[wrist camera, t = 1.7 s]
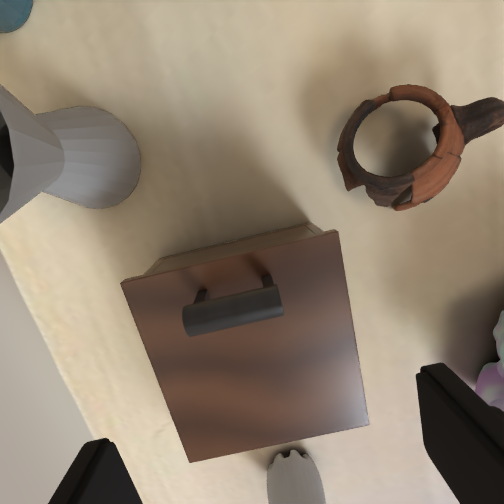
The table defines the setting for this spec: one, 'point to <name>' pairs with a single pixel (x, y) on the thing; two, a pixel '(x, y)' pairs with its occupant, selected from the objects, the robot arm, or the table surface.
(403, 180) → the pottery mug
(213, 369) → the lid
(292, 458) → the bottle
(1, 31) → the cup
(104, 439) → the robot arm
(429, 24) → the table surface
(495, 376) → the iridescent bubble cluster
